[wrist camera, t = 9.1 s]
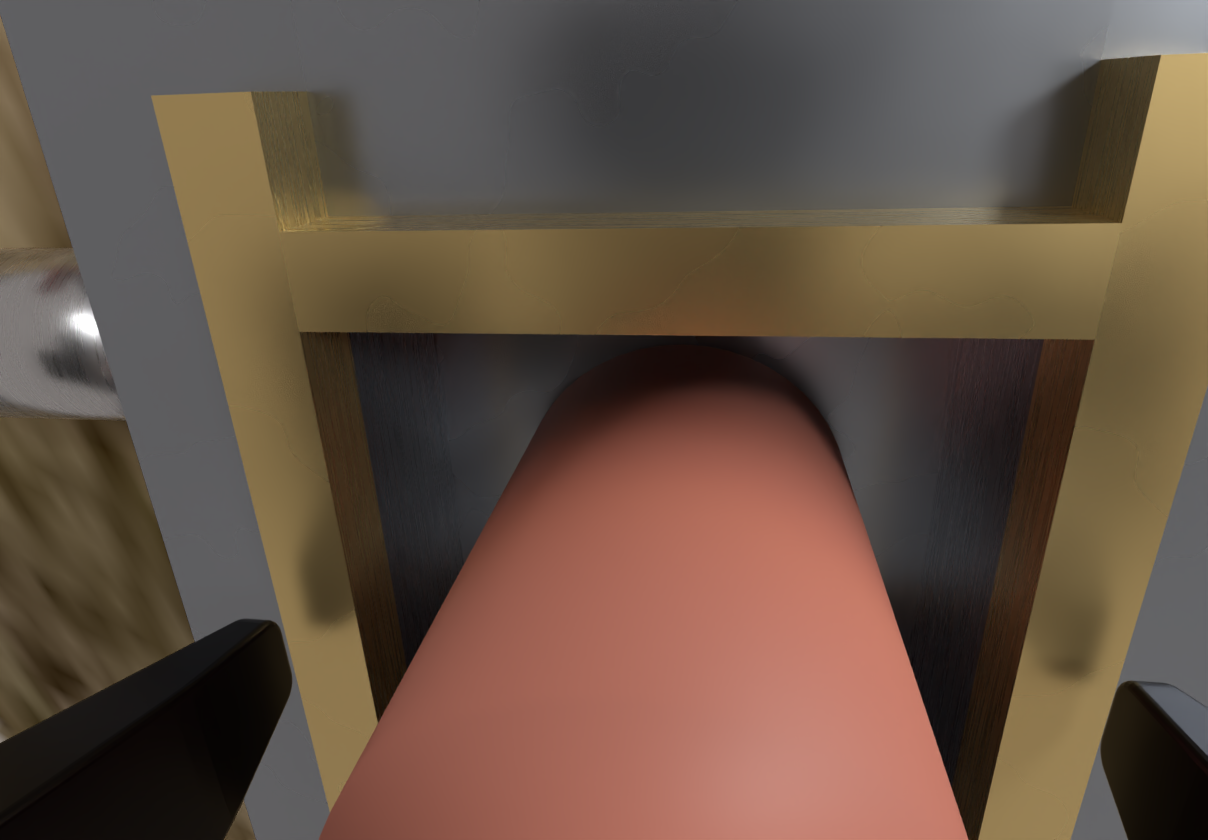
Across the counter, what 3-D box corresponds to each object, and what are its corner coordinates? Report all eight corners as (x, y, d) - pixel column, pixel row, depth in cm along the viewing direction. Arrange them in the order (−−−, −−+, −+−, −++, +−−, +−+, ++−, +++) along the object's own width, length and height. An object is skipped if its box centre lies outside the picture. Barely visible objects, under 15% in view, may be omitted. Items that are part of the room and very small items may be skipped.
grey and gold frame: (1314, -41, 8) (1757, -141, 5) (1059, 832, 14) (1175, 1090, 10) (-4, 32, 11) (-365, 3, 7) (221, 749, 16) (80, 935, 13)
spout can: (862, 346, 11) (1264, 1077, 3) (831, 633, 13) (1014, 1534, 5) (514, 343, 11) (50, 914, 3) (537, 615, 13) (275, 1368, 5)
